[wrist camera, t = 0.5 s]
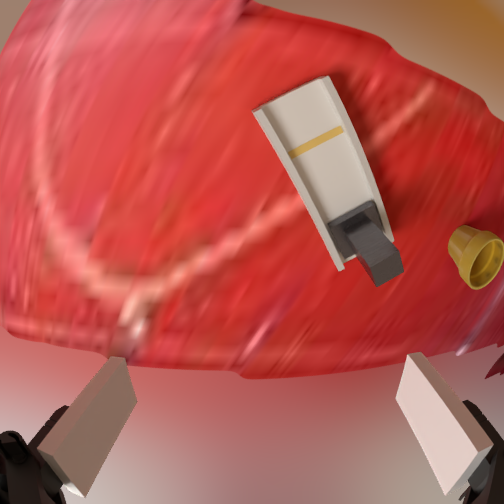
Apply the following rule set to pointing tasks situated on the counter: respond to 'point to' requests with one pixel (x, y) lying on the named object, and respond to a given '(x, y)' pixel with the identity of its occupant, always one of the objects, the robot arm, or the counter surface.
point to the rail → (321, 156)
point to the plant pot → (476, 255)
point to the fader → (367, 243)
